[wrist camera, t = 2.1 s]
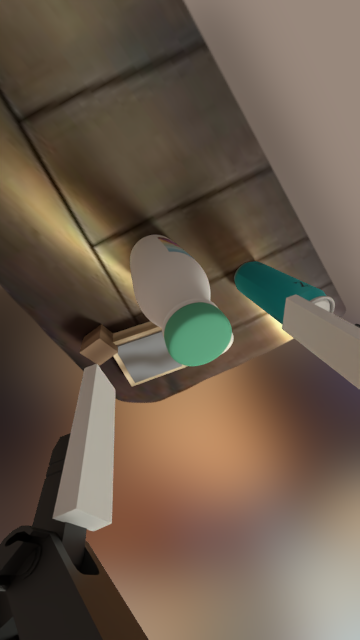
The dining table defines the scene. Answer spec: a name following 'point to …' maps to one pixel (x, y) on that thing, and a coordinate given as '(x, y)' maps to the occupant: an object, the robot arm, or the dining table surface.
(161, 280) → the milk bottle
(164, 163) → the dining table surface
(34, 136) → the dining table surface
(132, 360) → the wooden picture frame
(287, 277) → the beverage can
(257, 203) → the dining table surface
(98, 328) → the tan wooden block
